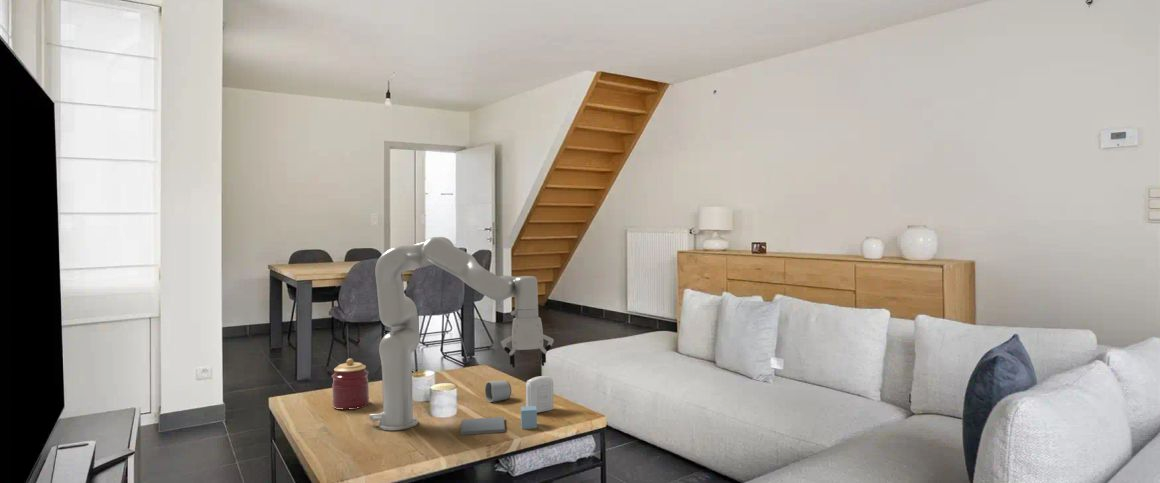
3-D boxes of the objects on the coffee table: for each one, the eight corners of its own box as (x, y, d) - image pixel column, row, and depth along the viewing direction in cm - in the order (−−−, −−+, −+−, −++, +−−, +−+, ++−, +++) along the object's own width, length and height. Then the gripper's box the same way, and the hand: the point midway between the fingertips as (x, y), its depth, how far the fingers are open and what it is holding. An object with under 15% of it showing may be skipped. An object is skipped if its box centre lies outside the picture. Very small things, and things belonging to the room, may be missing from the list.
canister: (373, 406, 232) (372, 359, 232) (337, 412, 225) (335, 364, 225) (364, 398, 243) (362, 353, 243) (328, 404, 236) (327, 358, 235)
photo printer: (549, 407, 227) (548, 373, 227) (555, 410, 223) (554, 375, 223) (524, 412, 221) (523, 377, 221) (530, 415, 218) (529, 379, 217)
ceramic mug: (512, 400, 237) (512, 380, 236) (493, 404, 232) (492, 383, 232) (500, 395, 245) (499, 375, 245) (481, 398, 241) (480, 378, 241)
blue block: (521, 429, 203) (521, 410, 203) (520, 424, 208) (520, 406, 208) (537, 428, 204) (536, 409, 204) (535, 423, 209) (535, 405, 208)
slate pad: (460, 434, 198) (460, 431, 198) (462, 422, 211) (461, 419, 211) (504, 432, 200) (504, 428, 200) (503, 419, 213) (503, 416, 213)
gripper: (500, 316, 200) (501, 369, 200) (554, 314, 203) (555, 366, 203) (499, 313, 207) (501, 364, 208) (551, 311, 210) (553, 362, 210)
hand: (528, 365), depth 205 cm, fingers open, 9 cm apart
